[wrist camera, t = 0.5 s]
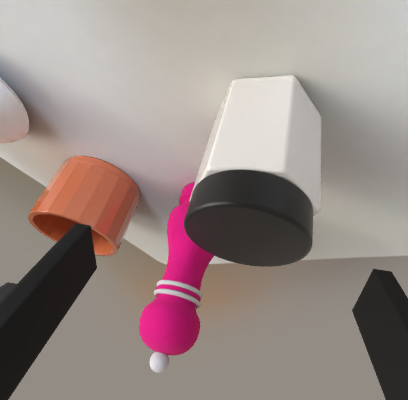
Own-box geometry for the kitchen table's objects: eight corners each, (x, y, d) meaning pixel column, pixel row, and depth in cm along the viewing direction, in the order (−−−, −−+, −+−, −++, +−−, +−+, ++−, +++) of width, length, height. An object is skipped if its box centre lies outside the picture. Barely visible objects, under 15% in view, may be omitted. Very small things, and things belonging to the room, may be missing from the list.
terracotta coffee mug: (49, 148, 36) (9, 203, 32) (132, 164, 35) (102, 224, 30) (87, 210, 49) (63, 255, 44) (149, 223, 47) (131, 271, 43)
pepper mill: (202, 215, 41) (159, 373, 30) (168, 187, 37) (103, 357, 26) (244, 206, 36) (210, 387, 26) (209, 172, 32) (152, 370, 22)
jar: (223, 150, 29) (193, 258, 23) (206, 77, 23) (159, 199, 16) (316, 152, 26) (313, 275, 20) (327, 69, 20) (329, 211, 13)
